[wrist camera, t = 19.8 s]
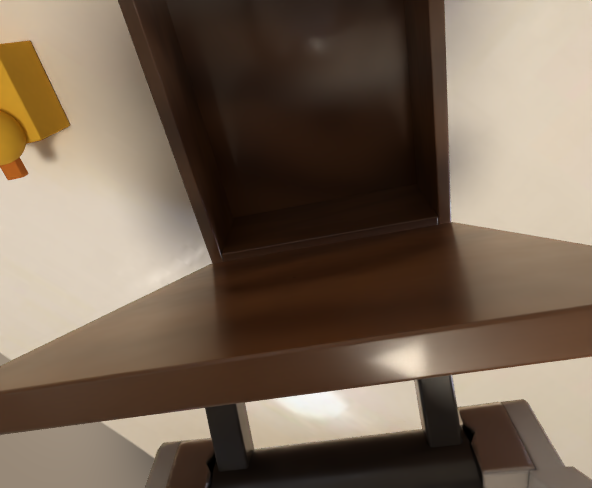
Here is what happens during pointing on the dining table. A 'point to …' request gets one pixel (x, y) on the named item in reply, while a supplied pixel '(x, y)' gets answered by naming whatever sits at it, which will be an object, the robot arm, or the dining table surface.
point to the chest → (300, 116)
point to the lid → (321, 348)
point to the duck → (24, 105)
